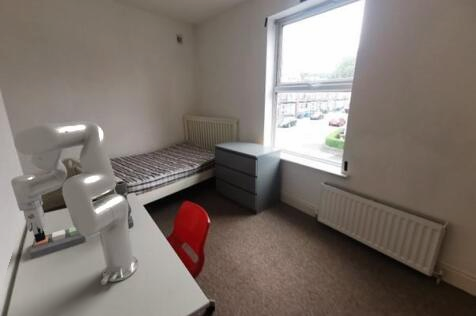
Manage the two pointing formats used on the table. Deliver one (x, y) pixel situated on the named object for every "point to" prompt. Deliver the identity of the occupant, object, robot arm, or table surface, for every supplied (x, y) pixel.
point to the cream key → (58, 235)
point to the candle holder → (121, 190)
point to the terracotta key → (42, 242)
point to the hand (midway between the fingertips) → (41, 240)
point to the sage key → (73, 231)
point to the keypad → (56, 244)
